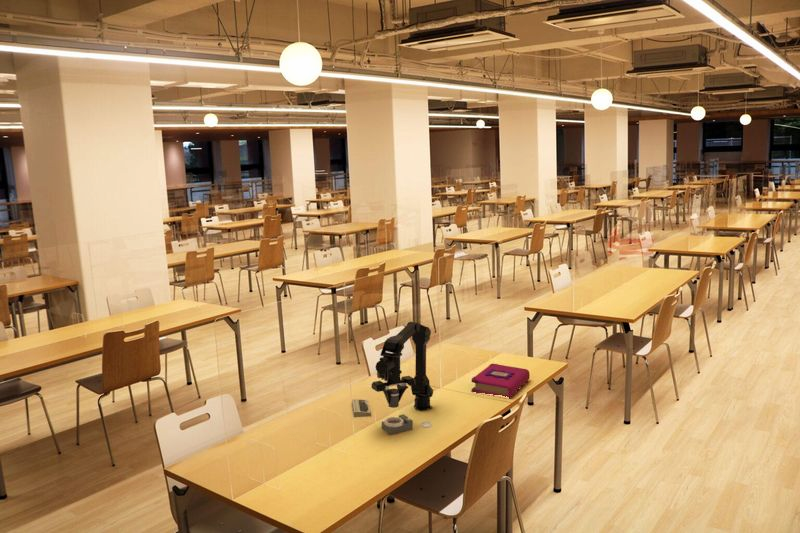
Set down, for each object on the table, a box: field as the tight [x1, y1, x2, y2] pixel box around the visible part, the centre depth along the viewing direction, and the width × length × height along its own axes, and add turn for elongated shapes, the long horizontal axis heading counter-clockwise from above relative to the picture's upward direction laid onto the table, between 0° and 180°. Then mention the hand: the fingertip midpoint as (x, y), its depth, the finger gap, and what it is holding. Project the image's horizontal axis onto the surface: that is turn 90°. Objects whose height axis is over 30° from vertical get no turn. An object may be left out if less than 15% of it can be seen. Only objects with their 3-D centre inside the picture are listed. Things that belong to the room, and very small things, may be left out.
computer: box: [351, 398, 372, 418], centre depth 318 cm, size 16×8×3 cm, turn 8°
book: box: [470, 363, 531, 398], centre depth 346 cm, size 21×28×8 cm
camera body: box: [381, 413, 414, 436], centre depth 297 cm, size 11×8×5 cm
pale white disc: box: [420, 421, 433, 429], centre depth 301 cm, size 5×5×1 cm
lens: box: [388, 388, 400, 409], centre depth 295 cm, size 5×5×7 cm
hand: (393, 402), depth 295 cm, fingers closed on lens, 4 cm apart
